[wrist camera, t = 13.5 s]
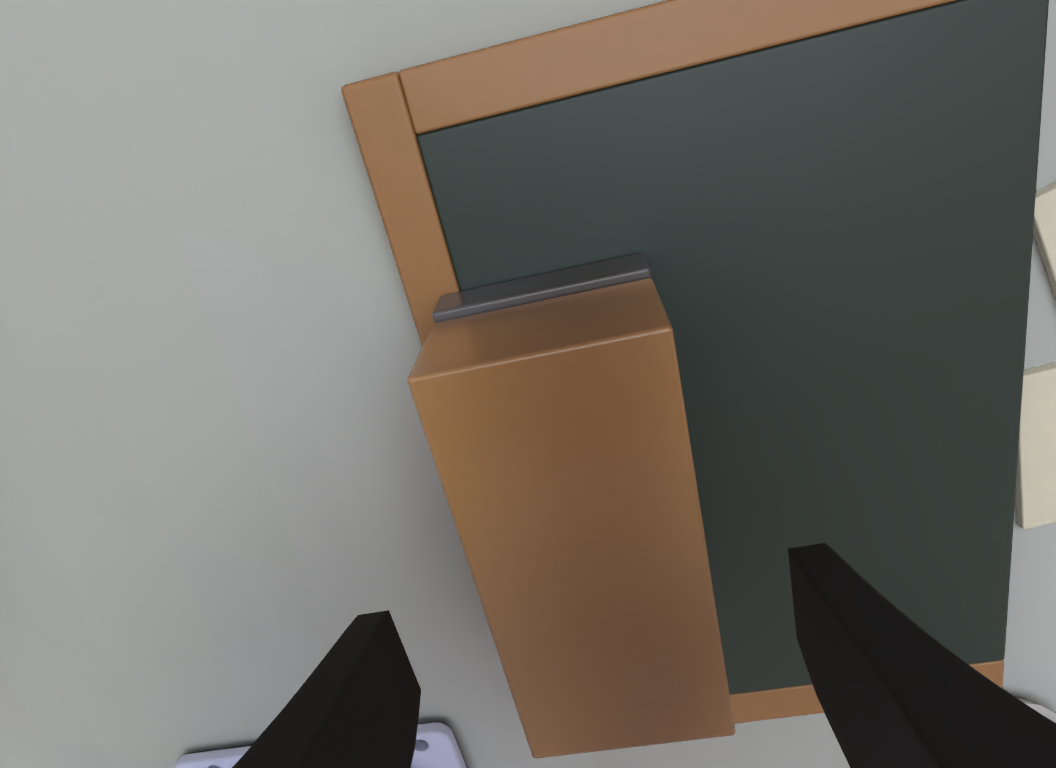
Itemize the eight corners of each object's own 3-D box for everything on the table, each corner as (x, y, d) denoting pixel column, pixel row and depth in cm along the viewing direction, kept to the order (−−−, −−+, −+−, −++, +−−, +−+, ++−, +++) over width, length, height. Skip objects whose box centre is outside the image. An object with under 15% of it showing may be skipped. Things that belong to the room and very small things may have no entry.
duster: (539, 633, 19) (534, 766, 16) (439, 294, 15) (401, 368, 12) (703, 610, 19) (737, 742, 15) (644, 250, 15) (671, 314, 11)
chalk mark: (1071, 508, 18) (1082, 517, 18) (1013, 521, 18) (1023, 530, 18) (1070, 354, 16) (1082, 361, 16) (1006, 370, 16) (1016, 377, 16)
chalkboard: (549, 723, 22) (548, 747, 21) (349, 85, 14) (338, 86, 14) (987, 669, 20) (1003, 692, 19) (1029, -93, 12) (1057, -103, 12)
